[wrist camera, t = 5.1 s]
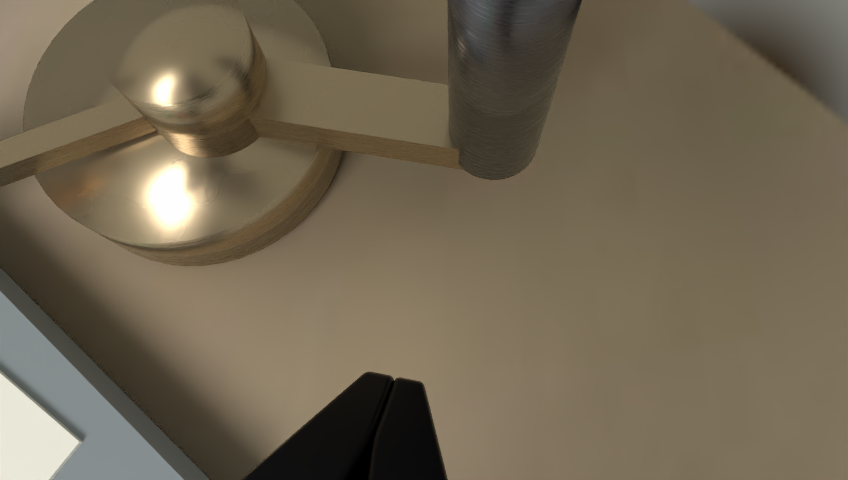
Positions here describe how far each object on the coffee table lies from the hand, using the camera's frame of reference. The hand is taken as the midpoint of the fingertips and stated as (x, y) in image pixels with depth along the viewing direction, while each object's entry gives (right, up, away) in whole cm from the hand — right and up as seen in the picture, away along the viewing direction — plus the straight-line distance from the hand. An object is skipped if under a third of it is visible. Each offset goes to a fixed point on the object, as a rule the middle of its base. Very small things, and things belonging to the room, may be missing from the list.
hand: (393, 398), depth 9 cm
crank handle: (-6, +4, +11) cm, 13 cm away
